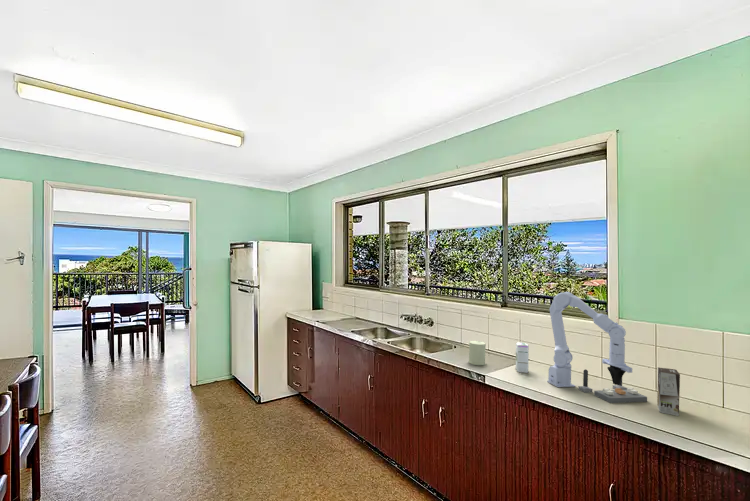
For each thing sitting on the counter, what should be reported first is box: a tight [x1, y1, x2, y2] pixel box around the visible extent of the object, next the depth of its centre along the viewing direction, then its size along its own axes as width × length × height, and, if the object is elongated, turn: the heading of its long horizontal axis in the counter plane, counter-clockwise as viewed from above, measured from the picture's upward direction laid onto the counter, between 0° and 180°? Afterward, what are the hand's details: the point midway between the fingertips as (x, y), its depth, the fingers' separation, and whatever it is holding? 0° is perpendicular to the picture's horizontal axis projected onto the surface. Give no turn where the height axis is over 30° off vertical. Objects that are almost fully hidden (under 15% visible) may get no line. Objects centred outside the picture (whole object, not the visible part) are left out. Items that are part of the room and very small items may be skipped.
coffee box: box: [656, 367, 681, 417], centre depth 152 cm, size 9×6×16 cm
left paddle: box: [602, 387, 614, 395], centre depth 163 cm, size 2×3×2 cm
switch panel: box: [593, 389, 648, 404], centre depth 164 cm, size 18×9×2 cm, turn 100°
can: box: [468, 340, 487, 366], centre depth 214 cm, size 9×9×12 cm
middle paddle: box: [614, 388, 626, 394], centre depth 164 cm, size 2×3×2 cm
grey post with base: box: [612, 377, 628, 390], centre depth 176 cm, size 4×4×10 cm
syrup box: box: [515, 342, 530, 373], centre depth 201 cm, size 6×6×14 cm
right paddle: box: [626, 387, 639, 394], centre depth 165 cm, size 2×3×2 cm
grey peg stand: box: [577, 369, 593, 393], centre depth 173 cm, size 4×4×10 cm
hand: (616, 384), depth 167 cm, fingers closed
